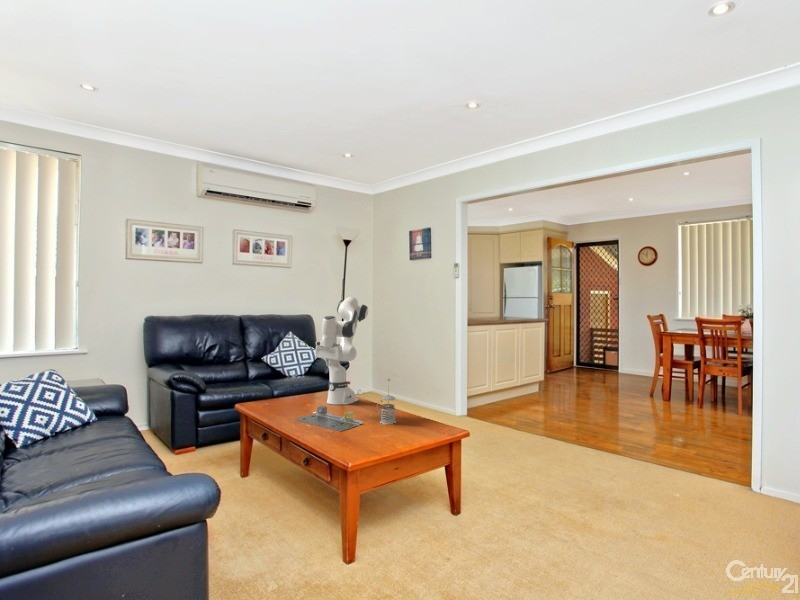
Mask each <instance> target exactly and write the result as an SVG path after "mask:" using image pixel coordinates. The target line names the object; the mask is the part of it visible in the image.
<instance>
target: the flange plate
mask: <svg viewBox="0 0 800 600" xmlns="http://www.w3.org/2000/svg"><path fill="white" fill-rule="evenodd" d="M295 421H299V422H301V423H306V424H310V425H314V426H318V427H321V428H325V429H330V430H332V431H337V432H340V433H341V432H344V431H346V430H351V429H353V427H354V428H357V427H359V426H360V425H357V424H353V423H349V422H344V421H340V420H336V419H332V418H328V417H323V416H319V415H317V414H313V413H312V414H309V415H305V416H301V417H298V418H297V417H296V418H295ZM356 426H357V427H356Z"/></svg>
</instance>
